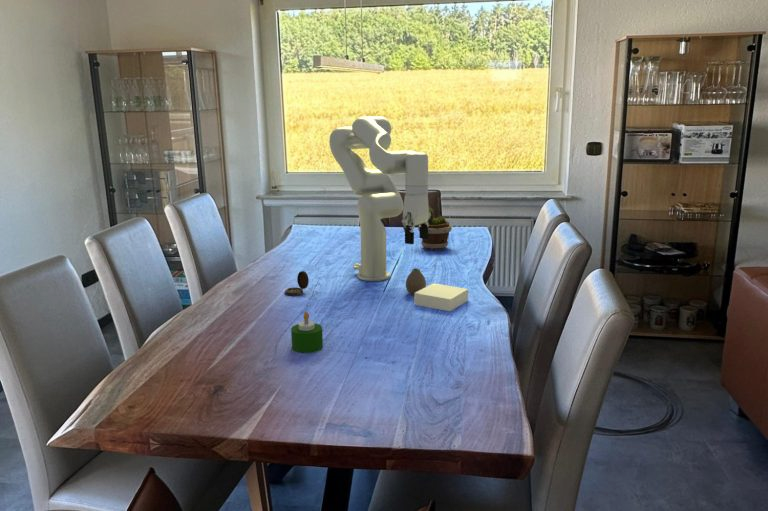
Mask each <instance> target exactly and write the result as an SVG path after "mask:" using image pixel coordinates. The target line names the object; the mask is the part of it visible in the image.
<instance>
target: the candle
mask: <svg viewBox="0 0 768 511" xmlns="http://www.w3.org/2000/svg"><path fill="white" fill-rule="evenodd" d="M309 318H310V315H309V313H308V312H307V311H306V312H305V311H304V314H303V321H299V322H298V323H297V324H294V325H293V326H292V327H291V330H290V333H291V334H290V335H291V336H290V337H291V349H292V350H293V351H294V353H295V352H296V353H299V354H300V353H302V354H310V353H311V354H312V353H316V352H320V350H322V349H323V347H324V346H323V345H324V344H323V342H324V341H323V326H322V325H321V324H319V323H315V321H313V320H309Z"/></svg>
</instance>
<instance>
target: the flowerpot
mask: <svg viewBox="0 0 768 511" xmlns="http://www.w3.org/2000/svg"><path fill="white" fill-rule="evenodd" d="M434 211H435V209H434V208H433V207H431V206H429V212H430V213H431V215H430V221H429V227H428V239H422V238H421V243H420V245H421V246H422V247H423V249H425V250H426V251H427V250H428V251H442V250H443V251H444V250H445V249H446V248H447V247H448V245H449V241H448V239H449V237H450V236H449V235H450V232H452V229H453V227H452V225H451V224H450V222H449V221H448V220H446V218H445V217H444V215H442V214H439V216H437V217H436V216H435V214H436V213H435V212H434ZM419 227H421V226H420V225H418V228H417V229H418V230H419Z"/></svg>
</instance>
